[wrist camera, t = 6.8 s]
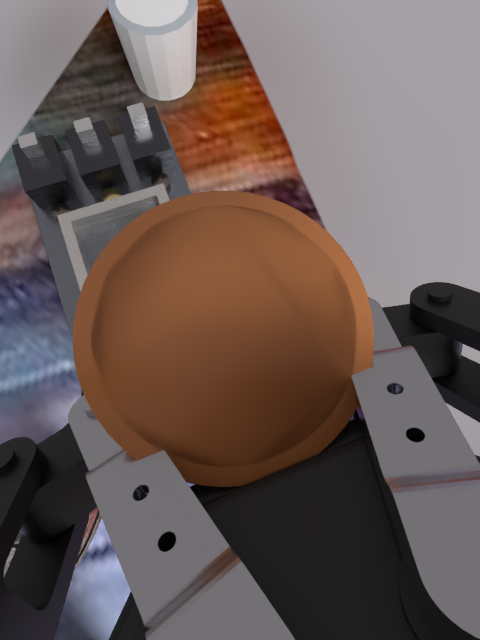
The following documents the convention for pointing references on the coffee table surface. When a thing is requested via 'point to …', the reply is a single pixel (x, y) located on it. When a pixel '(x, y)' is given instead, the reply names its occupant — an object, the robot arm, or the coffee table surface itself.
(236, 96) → the coffee table surface
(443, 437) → the robot arm
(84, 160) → the board
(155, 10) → the shot glass
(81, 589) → the coffee table surface
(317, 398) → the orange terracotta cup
